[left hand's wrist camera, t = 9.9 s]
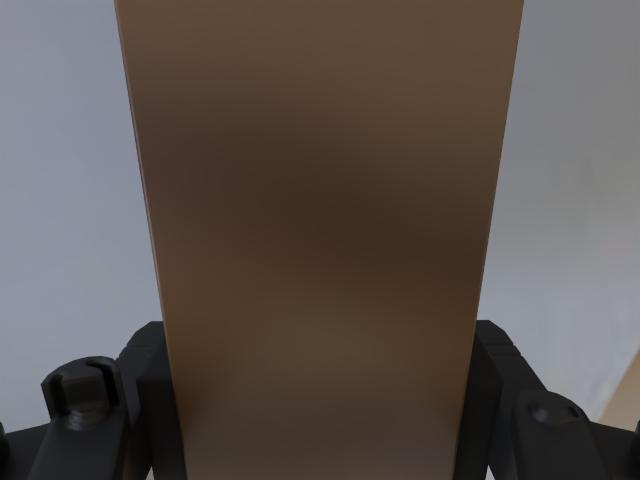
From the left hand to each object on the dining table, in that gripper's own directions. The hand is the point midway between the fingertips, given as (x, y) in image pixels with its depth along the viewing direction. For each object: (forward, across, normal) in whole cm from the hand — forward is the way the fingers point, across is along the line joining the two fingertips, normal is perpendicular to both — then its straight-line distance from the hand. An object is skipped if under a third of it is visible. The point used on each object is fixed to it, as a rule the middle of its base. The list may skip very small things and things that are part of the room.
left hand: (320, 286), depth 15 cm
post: (+1, 0, -22) cm, 22 cm away
